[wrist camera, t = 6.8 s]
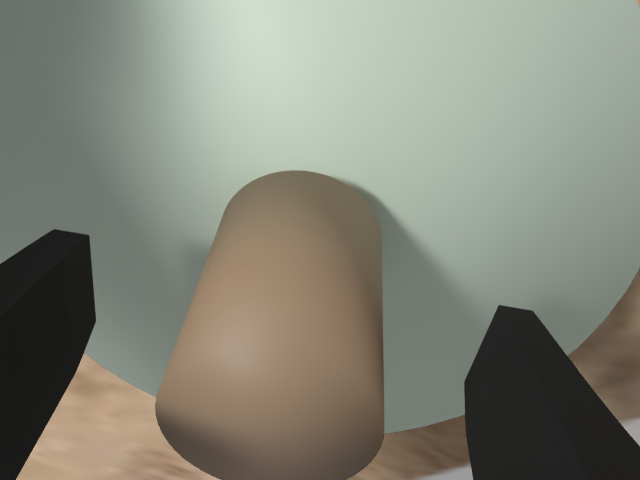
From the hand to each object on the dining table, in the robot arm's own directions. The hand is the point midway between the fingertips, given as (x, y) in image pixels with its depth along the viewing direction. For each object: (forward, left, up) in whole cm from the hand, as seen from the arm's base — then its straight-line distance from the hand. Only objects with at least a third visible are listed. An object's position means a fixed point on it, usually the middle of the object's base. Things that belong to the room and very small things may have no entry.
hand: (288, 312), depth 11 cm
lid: (0, 0, -3) cm, 3 cm away
